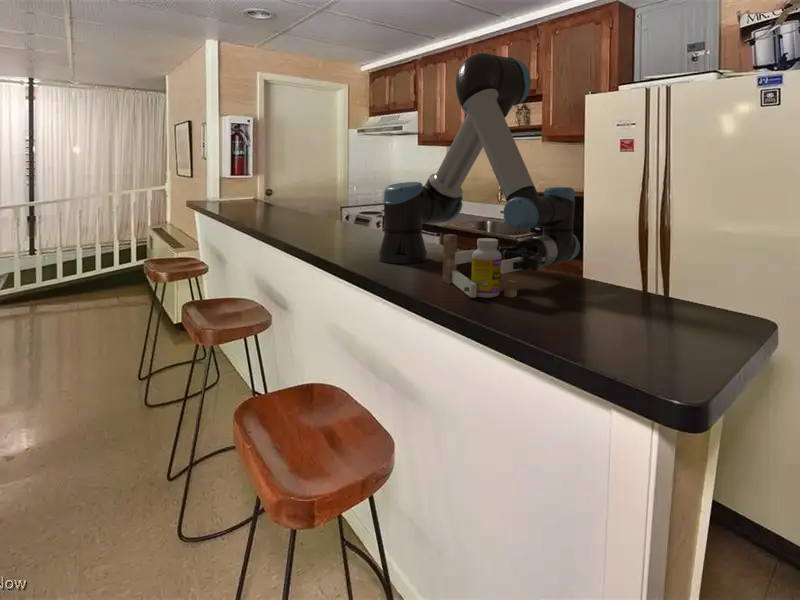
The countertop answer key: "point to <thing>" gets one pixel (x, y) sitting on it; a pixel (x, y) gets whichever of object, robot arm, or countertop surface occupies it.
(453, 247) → the wooden post frame
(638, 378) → the countertop surface
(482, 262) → the supplement bottle
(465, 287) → the bar
